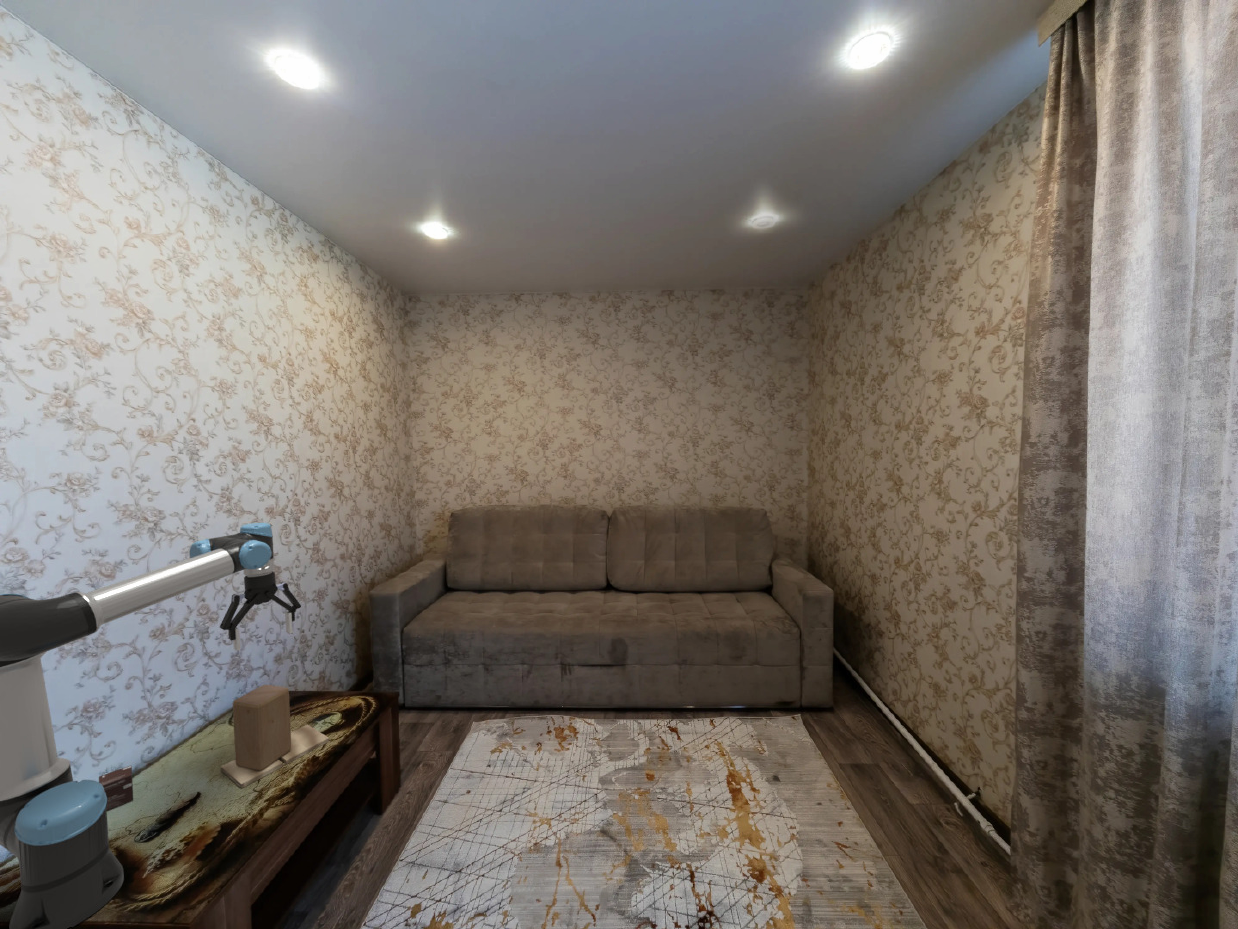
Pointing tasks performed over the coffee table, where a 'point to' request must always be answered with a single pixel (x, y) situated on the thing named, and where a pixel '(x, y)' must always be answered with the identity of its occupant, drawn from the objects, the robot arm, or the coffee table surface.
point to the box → (118, 787)
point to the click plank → (248, 772)
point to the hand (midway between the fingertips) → (264, 640)
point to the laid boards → (303, 743)
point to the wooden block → (261, 726)
